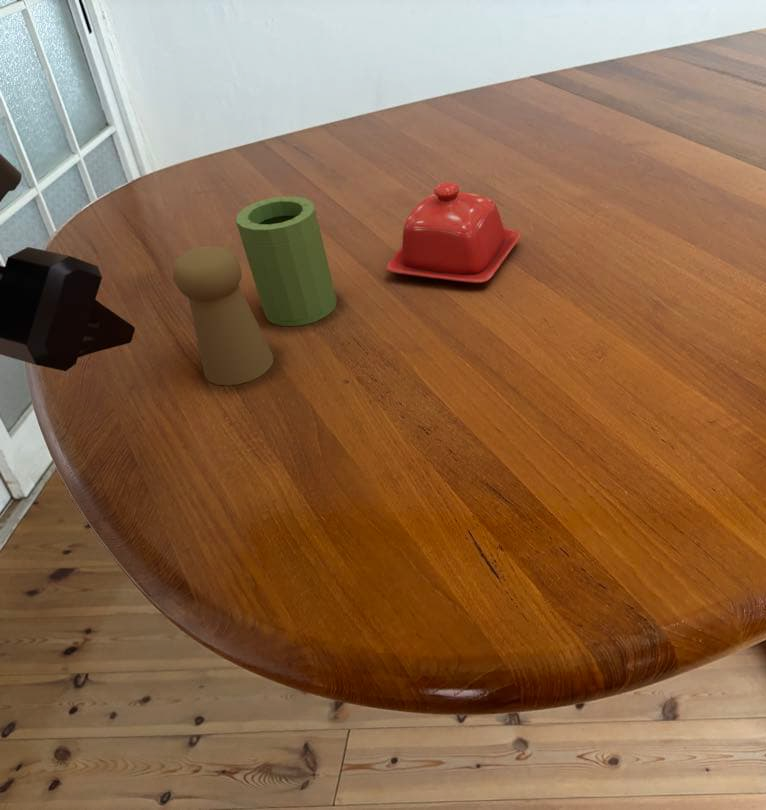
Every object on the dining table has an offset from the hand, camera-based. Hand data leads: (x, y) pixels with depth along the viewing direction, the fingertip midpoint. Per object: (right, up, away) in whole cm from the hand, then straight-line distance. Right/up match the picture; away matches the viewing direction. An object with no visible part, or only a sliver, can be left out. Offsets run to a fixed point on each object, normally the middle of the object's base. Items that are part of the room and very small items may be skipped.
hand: (82, 322), depth 56 cm
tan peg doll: (+5, -2, +17) cm, 18 cm away
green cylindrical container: (+8, +4, +24) cm, 26 cm away
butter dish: (+23, +9, +30) cm, 39 cm away
